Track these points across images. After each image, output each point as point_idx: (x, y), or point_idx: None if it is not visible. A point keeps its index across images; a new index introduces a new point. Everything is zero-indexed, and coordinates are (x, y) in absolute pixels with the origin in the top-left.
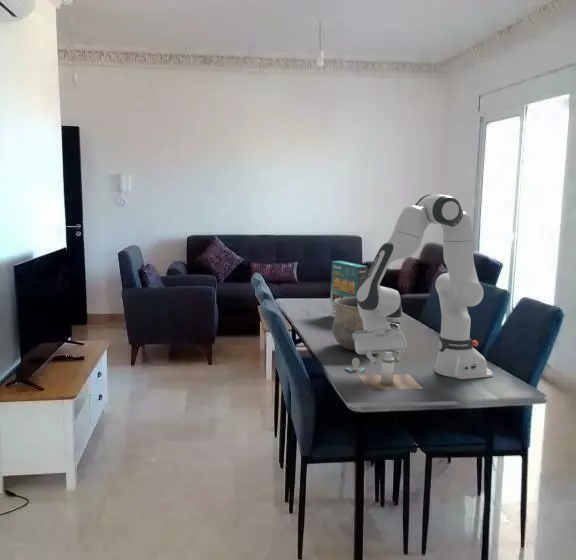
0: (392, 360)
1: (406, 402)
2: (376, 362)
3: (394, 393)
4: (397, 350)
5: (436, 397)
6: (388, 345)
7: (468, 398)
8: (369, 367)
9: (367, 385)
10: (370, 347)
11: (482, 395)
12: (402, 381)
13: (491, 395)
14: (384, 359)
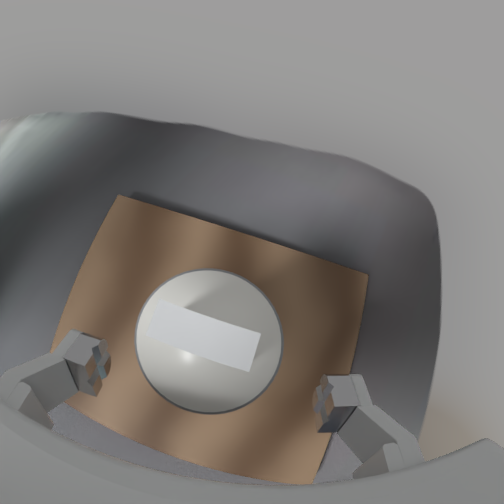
0: (202, 268)
1: (265, 146)
2: (323, 377)
3: (252, 231)
4: (17, 396)
5: (127, 147)
6: (84, 494)
7: (63, 125)
8: None
9: (350, 329)
10: (422, 487)
11: (22, 138)
12: (128, 316)
13: (12, 135)
14: (276, 321)
